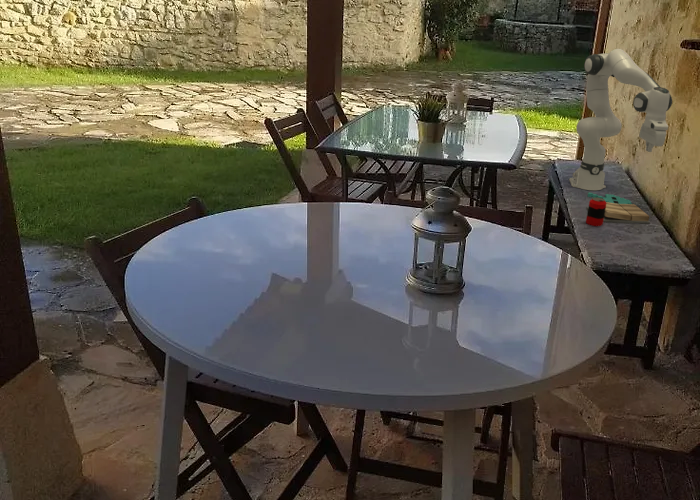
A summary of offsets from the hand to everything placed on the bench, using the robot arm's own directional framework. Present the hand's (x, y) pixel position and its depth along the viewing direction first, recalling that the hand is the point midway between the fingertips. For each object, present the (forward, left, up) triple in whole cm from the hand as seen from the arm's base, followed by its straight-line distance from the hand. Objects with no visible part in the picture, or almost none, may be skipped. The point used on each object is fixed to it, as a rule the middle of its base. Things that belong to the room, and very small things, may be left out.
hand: (648, 151), depth 326 cm
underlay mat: (+7, -12, -31) cm, 34 cm away
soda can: (+19, -27, -31) cm, 46 cm away
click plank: (+7, -15, -29) cm, 34 cm away
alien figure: (-14, -8, -32) cm, 36 cm away
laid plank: (+7, -4, -31) cm, 32 cm away
